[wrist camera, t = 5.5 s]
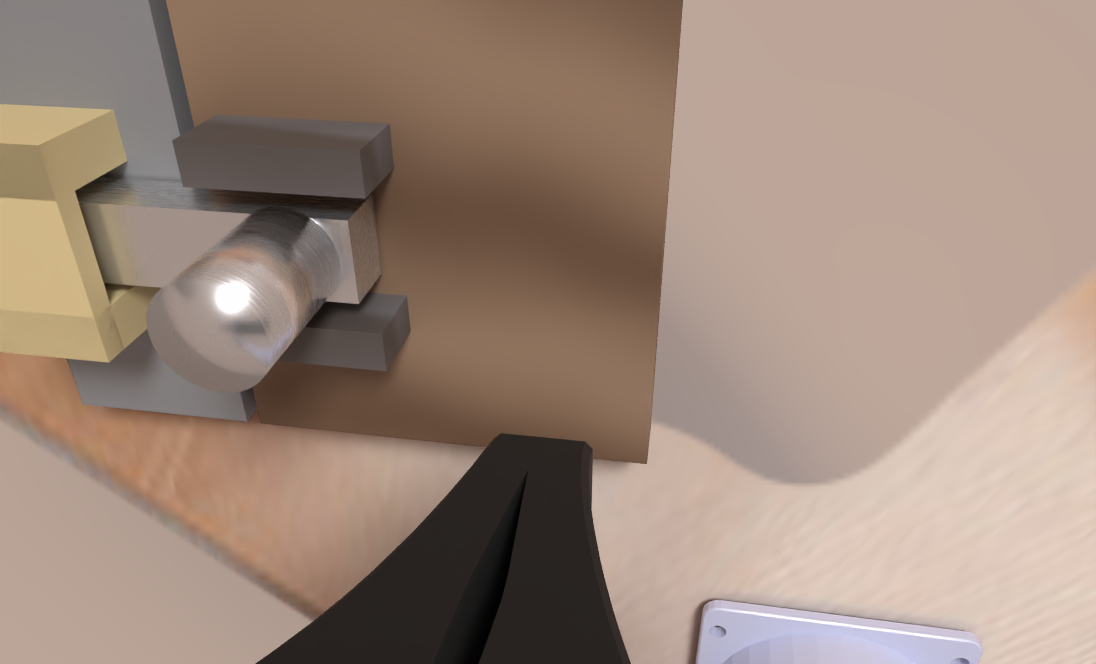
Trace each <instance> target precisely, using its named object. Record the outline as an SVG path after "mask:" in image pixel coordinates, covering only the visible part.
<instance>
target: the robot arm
mask: <svg viewBox="0 0 1096 664" xmlns="http://www.w3.org/2000/svg"><path fill="white" fill-rule="evenodd" d="M592 461H593V449H592V448H591V447H590V446H589V445H588V444H587V443H586V442H585V441H576V440H566V439H556V438H546V437H535V436H525V435H515V434H505V433H500V434H499V435H498V436H496V437H495V438H494V439H493V440H492V441H491V442H490V444H489V445H488V446H487V448H486V449H485V450H484V451H483V453H482V454H481V455H480V457H479V458H478V459H477V460H476V462H475V463H474V464H473V465H472V466H471V468H470V469H469V470H468V471H467V472H466V474H465V475H464V476H463V477H462V478H461V480H460V481H459V482H458V483H457V484H456V485H455V487H454V488H453V489H452V490H451V491H450V492H449V493H448V495H447V496H446V497H445V498H444V499H443V500H442V501H441V502H440V503H439V504H438V505H437V507H436V508H435V509H434V510H433V511H432V512H431V513H430V514H429V515H428V516H427V517H426V519H425V520H424V521H423V522H422V523H421V524H420V525H419V526H418V527H417V528H416V529H415V530H414V531H413V532H412V533H411V534H410V535H409V536H408V537H407V538H406V539H405V540H404V541H403V542H402V543H401V544H400V545H399V546H398V547H397V548H396V549H395V550H394V551H393V552H392V553H391V554H390V555H389V556H388V557H387V558H386V559H385V560H384V561H383V562H382V563H381V564H379V565H378V566H377V567H376V568H375V569H374V570H373V571H372V572H371V573H370V574H369V575H368V576H367V577H366V578H364V579H363V580H362V581H361V582H360V583H359V584H358V585H357V586H355V587H354V588H353V589H352V590H351V591H350V592H348V593H347V594H346V595H345V596H344V597H343V598H341V599H340V600H339V601H338V602H337V603H335V604H334V605H333V606H332V607H330V608H329V609H328V610H327V611H326V612H324V613H323V614H322V615H321V616H319V617H318V618H317V619H316V620H314V621H313V622H312V623H310V624H309V625H308V626H307V627H305V628H304V629H302V630H301V631H300V632H298V633H297V634H296V635H294V636H293V637H292V638H290V639H289V640H288V641H286V642H285V643H284V644H282V645H281V646H280V647H278V648H277V649H276V650H274V651H273V652H271V653H270V654H269V655H267V656H266V657H264V658H263V659H262V660H260V661H259V662H257V663H256V664H631V663H630V660H629V657H628V654H627V651H626V649H625V646H624V643H623V640H622V637H621V634H620V631H619V628H618V625H617V621H616V618H615V615H614V611H613V608H612V604H611V601H610V597H609V593H608V590H607V586H606V582H605V578H604V574H603V570H602V566H601V561H600V557H599V551H598V546H597V541H596V536H595V530H594V525H593V518H592V511H591V505H592ZM715 626H721V627H715ZM982 651H983V649H982V646H981V643H980V640H979V638H978V637H977V636H976V635H974V634H973V633H970V632H966V631H960V630H952V629H944V628H936V627H928V626H921V625H913V624H905V623H897V622H889V621H881V620H874V619H866V618H858V617H850V616H842V615H834V614H827V613H819V612H811V611H803V610H795V609H787V608H780V607H772V606H764V605H756V604H748V603H741V602H733V601H725V600H713V601H710V602H708V603H707V604H705V605H704V607H703V610H702V618H701V625H700V633H699V640H698V647H697V655H696V662H695V664H978V663H979V661H980V658H981V656H982ZM956 658H958V659H956Z"/></svg>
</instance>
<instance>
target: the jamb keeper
mask: <svg viewBox="0 0 1096 664" xmlns="http://www.w3.org/2000/svg"><path fill="white" fill-rule="evenodd" d="M193 128H194V124H193V119H192V115H191V110H190V106H189V101H188V97H187V92H186V88H185V84H184V79H183V75H182V70H181V66H180V61H179V57H178V52H177V48H176V43H175V39H174V35H173V30H172V26H171V21H170V17H169V12H168V8H167V3H166V0H0V352H6V353H16V354H26V355H36V356H47V357H57V358H67V361H68V363H69V366H70V369H71V372H72V375H73V377H74V380H75V383H76V386H77V389H78V391H79V394H80V397H81V400H82V403H83V404H85V405H95V406H104V407H113V408H123V409H132V410H142V411H151V412H161V413H170V414H179V415H189V416H198V417H208V418H217V419H227V420H236V421H245V422H247V421H248V420H249V419H250V417H251V416H252V415H253V414H254V412H255V411H256V410H257V404H256V400H255V395H254V391H253V387H251V388H250V389H247V390H244V391H241V392H235V393H221V392H215V391H211V390H207V389H204V388H201V387H199V386H196V385H194V384H192V383H190V382H189V381H187V380H185V379H184V378H182V377H181V376H179V375H178V374H177V373H176V372H174V371H173V370H172V369H171V368H170V367H169V366H168V365H167V364H166V363H165V362H164V361H163V359H162V358H161V357H160V356H159V354H158V353H157V351H156V349H155V348H154V346H153V344H152V342H151V339H150V337H149V334H148V329H147V322H146V316H147V309H148V306H149V303H150V301H151V299H152V298H153V296H154V295H155V294H156V293H157V292H158V291H159V290H160V289H161V288H159V287H147V286H135V285H123V284H110V283H103V279H102V276H101V273H100V270H99V267H98V263H97V260H96V257H95V254H94V251H93V247H92V244H91V241H90V238H89V235H88V231H87V228H86V225H85V222H84V218H83V215H82V212H81V209H80V206H79V202H78V199H77V196H76V193H75V190H77V189H79V188H81V187H82V186H84V185H86V184H88V183H89V182H91V181H93V180H95V179H96V178H98V177H110V178H126V179H141V180H157V181H173V182H182V180H181V176H180V172H179V168H178V164H177V160H176V155H175V151H174V147H173V143H172V140H174V139H176V138H177V137H179V136H181V135H182V134H184V133H186V132H188V131H189V130H191V129H193Z"/></svg>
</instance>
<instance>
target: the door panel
mask: <svg viewBox="0 0 1096 664" xmlns="http://www.w3.org/2000/svg"><path fill="white" fill-rule="evenodd" d="M166 3H167V8H168V12H169V17H170V21H171V26H172V30H173V35H174V39H175V43H176V48H177V52H178V57H179V61H180V66H181V70H182V75H183V79H184V84H185V88H186V92H187V97H188V101H189V106H190V110H191V115H192V119H193V124H194V128H193V129H191V130H189V131H188V132H186V133H184V134H182V135H181V136H179V137H177V138H176V139H174V140H172V143H173V147H174V151H175V155H176V160H177V164H178V168H179V172H180V176H181V180H182V185H183V187H189V188H205V189H221V190H236V191H252V192H268V193H283V194H299V195H315V196H331V197H346V198H362V199H366V198H367V197H368V195H369V194H372V197H373V205H374V214H375V222H376V231H377V239H378V248H379V256H380V265H381V273H382V274H381V275H380V276H379V278H378V279H377V280H376V282H375V283H374V284H373V286H372V287H371V288H370V290H369V291H368V292H367V294H366V295H365V297H364V298H363V299H362V301H361V302H360V303H359V304H352V303H340V302H328V301H326V302H325V303H324V304H323V305H322V306H321V308H320V309H319V310H318V311H317V313H316V314H315V315H314V316H313V317H312V319H311V320H310V321H309V322H308V324H307V325H306V326H305V327H304V328H303V330H302V331H301V332H300V333H299V335H298V336H297V337H296V338H295V339H294V341H293V342H292V343H291V344H290V346H289V347H288V348H287V349H286V351H285V352H284V353H283V354H282V355H281V357H280V358H279V359H278V360H277V362H276V363H275V364H274V365H273V366H272V368H271V369H270V370H269V371H268V373H267V374H266V375H265V376H264V377H263V379H262V380H261V381H260V382H259V383H258V384H256V385H255V386H253V391H254V395H255V400H256V404H257V409H258V413H259V418H260V422H261V423H264V424H274V425H283V426H293V427H302V428H311V429H321V430H330V431H340V432H349V433H359V434H368V435H377V436H387V437H396V438H406V439H415V440H425V441H434V442H443V443H453V444H462V445H472V446H481V447H487V446H488V445H489V444H490V442H491V441H492V440H493V439H494V438H495V437H496V436H498V435H499V434H500V433H505V434H515V435H525V436H535V437H546V438H556V439H566V440H576V441H585V442H586V443H587V444H588V445H589V446H590V447H591V448H592V449H593V458H594V459H604V460H613V461H622V462H632V463H641V464H647V457H648V447H649V438H650V428H651V415H652V401H653V389H654V375H655V361H656V349H657V336H658V323H659V309H660V296H661V283H662V269H663V257H664V243H665V230H666V216H667V204H668V191H669V178H670V164H671V149H672V138H673V124H674V112H675V111H674V110H675V98H676V84H677V71H678V59H679V46H680V32H681V19H682V6H683V0H166Z"/></svg>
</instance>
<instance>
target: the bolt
mask: <svg viewBox="0 0 1096 664" xmlns="http://www.w3.org/2000/svg"><path fill="white" fill-rule="evenodd" d="M75 193H76V196H77V199H78V202H79V206H80V209H81V212H82V215H83V218H84V222H85V225H86V228H87V231H88V235H89V238H90V241H91V244H92V247H93V251H94V254H95V257H96V260H97V263H98V267H99V270H100V273H101V276H102V279H103V283H110V284H123V285H135V286H147V287H159V288H161V289H160V290H159V291H158V292H157V293H156V294H155V295H154V296H153V298H152V299H151V301H150V303H149V306H148V309H147V316H146V322H147V329H148V334H149V337H150V339H151V342H152V344H153V346H154V348H155V349H156V351H157V353H158V354H159V356H160V357H161V358H162V359H163V361H164V362H165V363H166V364H167V365H168V366H169V367H170V368H171V369H172V370H173V371H174V372H176V373H177V374H178V375H179V376H181V377H182V378H184V379H185V380H187V381H189V382H190V383H192V384H194V385H196V386H199V387H201V388H204V389H207V390H211V391H215V392H221V393H235V392H241V391H244V390H247V389H250V388H251V387H253V386H255V385H256V384H258V383H259V382H260V381H261V380H262V379H263V377H264V376H265V375H266V374H267V373H268V371H269V370H270V369H271V368H272V366H273V365H274V364H275V363H276V362H277V360H278V359H279V358H280V357H281V355H282V354H283V353H284V352H285V351H286V349H287V348H288V347H289V346H290V344H291V343H292V342H293V341H294V339H295V338H296V337H297V336H298V335H299V333H300V332H301V331H302V330H303V328H304V327H305V326H306V325H307V324H308V322H309V321H310V320H311V319H312V317H313V316H314V315H315V314H316V313H317V311H318V310H319V309H320V308H321V306H322V305H323V304H324V303H325V302H326V301H328V302H340V303H352V304H359V303H360V302H361V301H362V299H363V298H364V297H365V295H366V294H367V292H368V291H369V290H370V288H371V287H372V286H373V284H374V283H375V282H376V280H377V279H378V278H379V276H380V275H381V274H382V273H381V265H380V256H379V248H378V239H377V231H376V222H375V214H374V205H373V197H372V194H369V195H368V197H367V198H366V199H362V198H346V197H331V196H315V195H299V194H283V193H268V192H252V191H236V190H221V189H205V188H189V187H183V185H182V182H173V181H157V180H141V179H126V178H110V177H98V178H96V179H95V180H93V181H91V182H89V183H88V184H86V185H84V186H82V187H81V188H79V189H77V190H75Z"/></svg>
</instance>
